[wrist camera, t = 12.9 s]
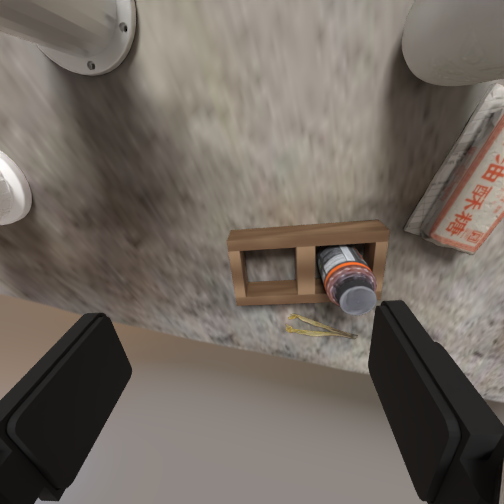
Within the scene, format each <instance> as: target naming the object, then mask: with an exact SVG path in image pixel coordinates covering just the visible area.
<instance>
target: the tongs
mask: <svg viewBox="0 0 504 504" xmlns="http://www.w3.org/2000/svg"><path fill="white" fill-rule="evenodd" d="M293 315H294V316H293ZM294 318H300V319H301V320H303V321H305V322H308V323H310V324H312V325H314V326H318V327H323V328H325V329H328V330H330V331H333V332H336V333H331V332H319V331H306V330H298V329H293V328H292V327H291V326H288V325H287V324H286V326H287V327H286V331H288V332H289V333H293V332H296V333H299V334H305V335H309V336H343V337H347V338H351V339H356V338H357V337H358V335H354V334H350V333H347V332H343V331H339V330H337V329H334V328H332V327H329V326H326V325H323V324H321V323H319V322H316V321H313V320H310V319H307V318H305V317H302V316H300V315H297V314H291V316H290V317H288V319H294ZM288 327H290V328H289V329H288ZM298 331H300V332H298Z"/></svg>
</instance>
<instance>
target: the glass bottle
mask: <svg viewBox="0 0 504 504" xmlns="http://www.w3.org/2000/svg"><path fill="white" fill-rule="evenodd" d="M402 51H403V55H404V58H405V61H406V63H407V65H408V67H409V69H410V70H411V71H412V73H413V74H414V75H415V76H416V77H418V78H419V79H421V80H423V81H425V82H427V83H430V84H434V85H440V86H463V85H471V84H476V83H482V82H487V81H492V80H498V79H504V0H414V2H413V5H412V7H411V9H410V11H409V13H408V16H407V18H406V22H405V27H404V32H403V37H402Z"/></svg>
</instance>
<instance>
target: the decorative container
mask: <svg viewBox="0 0 504 504" xmlns="http://www.w3.org/2000/svg"><path fill="white" fill-rule="evenodd" d="M31 204H32V193H31V190H30V187H29V183H28V181H27V179H26V178H25V176H24V174H23V172H22V171H21V170H20V168H19V167H18V166H17V165H16V163H15V162H14V161H13V160H12V159H10V158H9V157H8V156H7V155H6V154H5V153H4V152H2V151H0V225H6V224H11V223H14V222H16V221H19V220H21V219H22V218H24V217H25V216H26V215H27V214H28V212H29V211H30V208H31Z"/></svg>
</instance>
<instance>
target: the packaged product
mask: <svg viewBox="0 0 504 504" xmlns="http://www.w3.org/2000/svg"><path fill="white" fill-rule="evenodd" d="M503 217H504V86H502V85H500V84H497V83H494V84H492V85H491V86H490V87H489V89H488V90H487V92H486V93H485V95H484V96H483V98H482V100H481V101H480V103H479V104H478V106H477V108H476V110H475V111H474V113H473V115H472V117H471V118H470V120H469V122H468V124H467V125H466V127H465V128H464V130H463V132H462V134H461V135H460V137H459V138H458V140H457V142H456V143H455V145H454V146H453V148H452V149H451V151H450V153H449V154H448V156H447V157H446V159H445V161H444V162H443V164H442V165H441V167H440V168H439V170H438V171H437V173H436V174H435V176H434V178H433V180H432V181H431V182H430V184H429V186H428V188H427V190H426V192H425V194H424V196H423V197H422V199H421V200H420V202H419V203H418V205H417V207H416V208H415V210H414V212H413V213H412V215H411V217H410V218H409V220H408V222H407V224H406V226H405V227H404V229H403V230H404V231H407V232H410V233H413V234H416V235H419V236H421V237H422V238H423V239H424V240H426V241H429V242H433V243H434V244H436V245H437V246H442V247H447V248H453V249H456V250H458V251H460V252H465V253H467V254H469V255H473V254H475V252H476V251H477V250H478V248H479V247H480V246H481V245H482V243H483V242H484V241H485V240H486V238H487V237H488V236H489V235H490V233H491V232H492V231H493V230H494V228H495V227H496V226H497V224H498V223H499V222H500V221H501V220H502V218H503Z"/></svg>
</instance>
